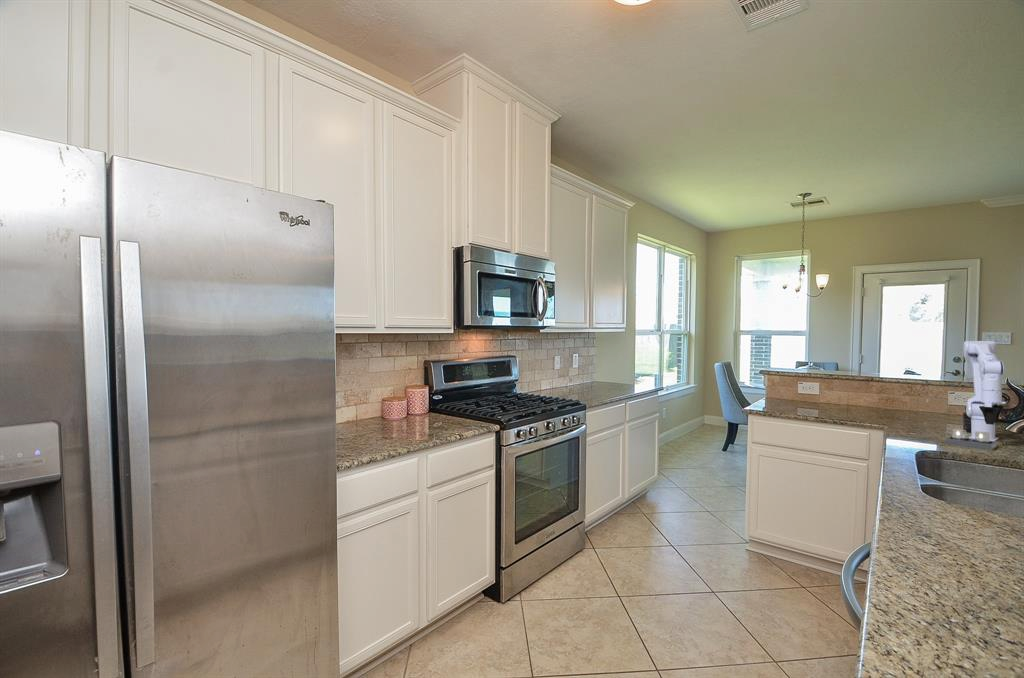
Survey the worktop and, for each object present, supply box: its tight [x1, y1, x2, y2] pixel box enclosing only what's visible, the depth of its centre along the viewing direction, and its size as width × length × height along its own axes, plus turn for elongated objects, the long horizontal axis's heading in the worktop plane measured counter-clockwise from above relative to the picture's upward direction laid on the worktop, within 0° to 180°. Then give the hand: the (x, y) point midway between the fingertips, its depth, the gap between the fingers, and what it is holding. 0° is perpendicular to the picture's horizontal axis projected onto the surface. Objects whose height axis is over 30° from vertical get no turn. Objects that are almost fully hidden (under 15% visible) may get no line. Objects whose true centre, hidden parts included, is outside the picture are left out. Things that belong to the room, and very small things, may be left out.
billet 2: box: [975, 431, 990, 444], centre depth 180 cm, size 4×4×6 cm
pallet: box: [945, 435, 997, 451], centre depth 183 cm, size 9×13×2 cm
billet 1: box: [952, 428, 967, 441], centre depth 185 cm, size 4×4×6 cm
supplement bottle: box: [962, 406, 971, 434], centre depth 212 cm, size 7×7×12 cm
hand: (991, 423), depth 183 cm, fingers open, 7 cm apart
